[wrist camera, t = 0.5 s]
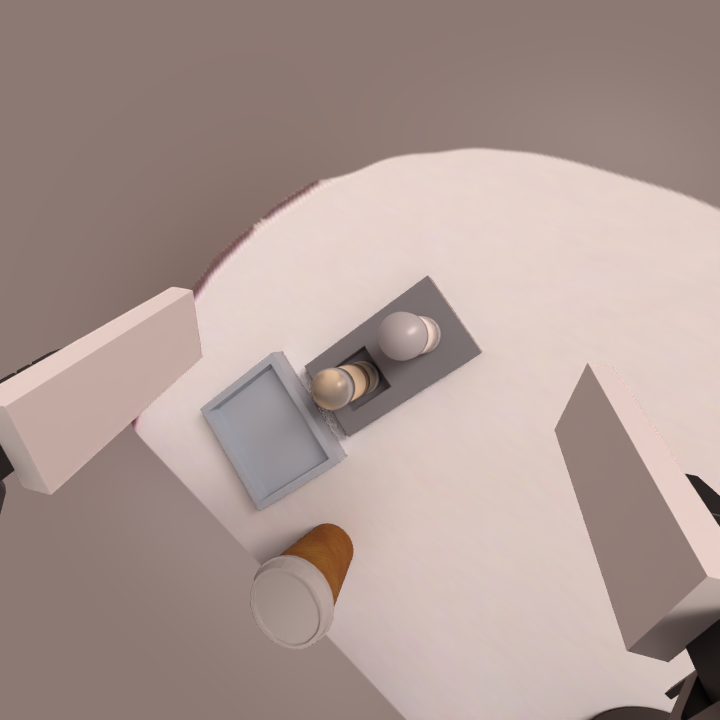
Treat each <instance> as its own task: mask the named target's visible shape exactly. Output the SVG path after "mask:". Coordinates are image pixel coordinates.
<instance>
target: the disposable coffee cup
mask: <svg viewBox="0 0 720 720" xmlns="http://www.w3.org/2000/svg"><path fill="white" fill-rule="evenodd" d="M352 557H353V545H352V542H351V540H350V538H349V536H348V535H347V534H346V532H345V531H344V530H343V529H341V528H340V527H338V526H336V525H333V524H321V525H319V526H317V527H316V528H315V529H314V530H312V531H311V532H310V533H308V534H307V535H306V536H304V537H303V538H302V539H300V540H299V541H298V542H297V543H295V544H294V545H293V546H291V547H290V548H289V549H287V550H286V551H285V552H284V553H282V554H281V555H280V556H278V557H275V558H272V559H270V560H268V561H266V562H265V563H264V564H263V565H262V566H261V567H260V568H259V570H258V572H257V573H256V575H255V578H254V583H253V585H252V589H251V592H250V606H251V609H252V614H253V617H254V619H255V621H256V623H257V625H258V626H259V628H260V629H261V630H262V632H263V633H264V634H265V635H266V636H267V637H269V638H270V639H271V640H272V641H273V642H275V643H276V644H278V645H280V646H282V647H285V648H288V649H303V648H307V647H308V646H310V645H312V644H313V643H314V642H317V641H318V640H320V639H321V638H323V637H324V636H325V634H326V633H327V632H328V630H329V628H330V626H331V624H332V621H333V613H334V606H335V603H336V601H337V597H338V595H339V593H340V589H341V587H342V584H343V582H344V579H345V576H346V573H347V571H348V568H349V565H350V562H351V560H352Z"/></svg>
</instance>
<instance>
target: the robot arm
mask: <svg viewBox="0 0 720 720" xmlns="http://www.w3.org/2000/svg"><path fill="white" fill-rule="evenodd" d="M201 358H202V351H201V344H200V337H199V330H198V324H197V317H196V310H195V304H194V297H193V290H188V289H183V288H177V287H171V288H169V289H167V290H166V291H164V292H162V293H161V294H159V295H157V296H155V297H153V298H152V299H150V300H148V301H146V302H144V303H143V304H141V305H139V306H137V307H136V308H134V309H132V310H130V311H129V312H127V313H125V314H123V315H121V316H120V317H118V318H116V319H114V320H113V321H111V322H109V323H107V324H105V325H104V326H102V327H100V328H98V329H97V330H95V331H93V332H92V333H89V334H88V335H86V336H84V337H82V338H81V339H79V340H77V341H75V342H74V343H72V344H70V345H68V346H67V347H64V348H62V349H58V350H56V351H53V352H50V353H48V354H46V355H44V356H43V357H41V358H39V359H37V360H36V361H34V362H32V364H31V365H27V366H25V367H23V368H21V369H19V370H17V373H12V374H10V375H8V376H7V377H5V378H3V379H1V380H0V513H1V509H2V505H3V501H4V497H5V493H6V488H5V484H4V483H3V481H2V480H3V479H4V478H5V477H6V476H8V475H9V474H10V473H11V472H13V471H15V473H16V475H17V477H18V479H19V480H20V482H21V484H22V486H23V487H24V488H27V489H31V490H35V491H38V492H42V493H46V494H49V495H51V494H52V493H54V491H56V490H57V489H58V488H59V487H60V486H61V485H62V484H63V483H65V482H66V481H67V480H68V479H69V478H70V477H71V476H72V475H73V474H74V473H76V472H77V471H78V470H79V469H80V468H81V467H82V466H83V465H84V464H85V463H87V462H88V461H89V460H90V459H91V458H92V457H93V456H94V455H95V454H96V453H98V452H99V451H100V450H101V449H102V448H103V447H104V446H105V445H106V444H107V443H109V441H111V440H112V439H113V438H114V437H115V436H116V435H117V434H118V433H119V432H121V431H122V430H123V429H124V428H125V427H126V426H127V425H128V424H129V423H131V422H132V421H133V420H134V419H135V418H136V417H137V416H138V415H139V414H140V413H142V412H143V411H144V410H145V409H146V408H147V407H148V406H149V405H150V404H151V403H153V402H154V401H155V400H156V399H157V398H158V397H159V396H160V395H161V394H162V393H164V392H165V391H166V390H167V389H168V388H169V387H170V386H171V385H172V384H173V383H175V382H176V381H177V380H178V379H179V378H180V377H181V376H182V375H183V374H184V373H186V372H187V371H188V370H189V369H190V368H191V367H192V366H193V365H194V364H195V363H197V362H198V361H199V360H200V359H201ZM555 432H556V435H557V439H558V442H559V445H560V448H561V451H562V454H563V457H564V460H565V463H566V466H567V469H568V472H569V475H570V478H571V481H572V484H573V487H574V490H575V494H576V497H577V500H578V503H579V506H580V509H581V512H582V515H583V518H584V521H585V524H586V527H587V530H588V533H589V536H590V539H591V542H592V546H593V549H594V552H595V555H596V558H597V561H598V564H599V567H600V570H601V573H602V576H603V579H604V582H605V585H606V588H607V591H608V594H609V597H610V601H611V604H612V607H613V610H614V613H615V616H616V619H617V622H618V625H619V628H620V631H621V634H622V637H623V640H624V643H625V646H626V649H627V651H629V652H633V653H637V654H640V655H644V656H648V657H651V658H655V659H659V660H662V661H666V662H669V661H671V660H672V659H673V658H674V657H676V656H677V655H678V654H679V653H681V652H682V651H683V650H684V649H687V651H688V653H689V656H690V658H691V660H692V662H693V665H694V667H695V669H696V670H695V671H693V672H692V673H691V674H689V675H688V676H686V677H685V678H684V679H682V680H681V681H679V682H678V683H677V684H675V685H674V686H673V687H671V688H670V689H669V690H668V691H667V692H666V693H665V694H666V695H667V696H668V697H669V698H670V699H673V698H674V697H676V696H677V695H679V696H678V698H677V700H676V703H675V705H674V707H673V710H672V712H671V714H670V713H667V712H664V711H660V710H655V709H650V708H639V707H630V708H621V709H616V710H612V711H609V712H607V713H604V714H602V715H600V716H598V717H597V718H595V719H594V720H720V496H719V495H718V494H717V493H716V492H715V491H714V490H713V489H711V488H710V487H709V486H708V485H707V484H706V483H705V482H704V481H702V480H701V479H700V478H699V477H698V476H694V475H689V474H685V473H684V472H683V471H682V469H681V468H680V466H679V465H678V463H677V461H676V460H675V458H674V457H673V455H672V454H671V452H670V451H669V449H668V448H667V446H666V445H665V443H664V442H663V440H662V439H661V437H660V436H659V434H658V433H657V431H656V430H655V428H654V427H653V425H652V424H651V422H650V421H649V419H648V418H647V416H646V415H645V413H644V412H643V410H642V408H641V407H640V405H639V404H638V402H637V401H636V399H635V398H634V396H633V395H632V393H631V392H630V390H629V389H628V387H627V386H626V384H625V383H624V381H623V380H622V378H621V377H620V375H619V374H618V372H617V371H616V369H615V368H614V367H609V366H603V365H598V364H592V363H587V365H586V367H585V369H584V371H583V373H582V375H581V378H580V380H579V382H578V384H577V386H576V388H575V390H574V392H573V394H572V396H571V398H570V400H569V402H568V404H567V406H566V408H565V410H564V412H563V414H562V416H561V418H560V420H559V422H558V424H557V426H556V428H555Z"/></svg>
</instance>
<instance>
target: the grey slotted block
mask: <svg viewBox="0 0 720 720" xmlns="http://www.w3.org/2000/svg"><path fill="white" fill-rule="evenodd" d="M480 353H482V351H481V349H480V348H479V346H478V345H477V343H476V342H475V341H474V339H473V338H472V336H471V335H470V333H469V332H468V331H467V329H466V328H465V326H464V325H463V323H462V322H461V320H460V319H459V318H458V316H457V315H456V313H455V312H454V310H453V309H452V308H451V306H450V305H449V303H448V302H447V300H446V299H445V297H444V296H443V295H442V293H441V292H440V290H439V289H438V287H437V286H436V285H435V283H434V282H433V280H432V279H431V278H430V277H429V276H426V277H425V278H424V279H422V280H421V281H420V282H418V283H417V284H415V285H414V286H413V287H411V288H410V289H409V290H407V291H406V292H405V293H403V294H402V295H401V296H399V297H398V298H397V299H395V300H394V301H392V302H391V303H390V304H388V305H387V306H386V307H384V308H383V309H382V310H380V311H379V312H378V313H376V314H375V315H373V316H372V317H371V318H369V319H368V320H367V321H365V322H364V323H363V324H361V325H360V326H359V327H357V328H356V329H355V330H353V331H352V332H350V333H349V334H348V335H346V336H345V337H344V338H342V339H341V340H340V341H338V342H337V343H336V344H334V345H333V346H332V347H330V348H329V349H327V350H326V351H325V352H323V353H322V354H321V355H319V356H318V357H317V358H315V359H314V360H313V361H311V362H310V363H309V364H307V365H306V366H304V367H305V368H306V370H307V371H308V373H309V375H310V376H311V378H312V379H313V378H314V377H315V375H316V374H317V373H318V372H320V371H321V370H324V369H328V368H332V367H341V366H343V365H347V364H353V363H355V362H358V361H363V360H367V361H371V362H373V363H374V364H375V365H376V366H377V367H378V368H379V370H380V373H381V381H380V384H379V386H378V387H377V388H376V389H375V390H374V391H372V392H370V393H368V394H365V395H363V396H362V397H360V398H358V399H355V400H353V401H351V402H349V403H348V404H347V405H345V406H343V407H341V408H339V409H337V410H332V411H333V413H334V414H335V416H336V418H337V419H338V421H339V422H340V424H341V426H342V427H343V429H344V430H345V432H346V434H347V435H348V437H349V436H351V435H352V434H354V433H356V432H357V431H359V430H360V429H362V428H364V427H365V426H367V425H368V424H370V423H371V422H373V421H375V420H376V419H378V418H379V417H381V416H382V415H384V414H386V413H387V412H389V411H390V410H392V409H394V408H395V407H397V406H398V405H400V404H401V403H403V402H405V401H406V400H408V399H409V398H411V397H413V396H414V395H416V394H417V393H419V392H420V391H422V390H424V389H425V388H427V387H428V386H430V385H431V384H433V383H435V382H436V381H438V380H439V379H441V378H443V377H444V376H446V375H447V374H449V373H450V372H452V371H454V370H455V369H457V368H458V367H460V366H461V365H463V364H465V363H466V362H468V361H469V360H471V359H473V358H474V357H476V356H477V355H479V354H480Z"/></svg>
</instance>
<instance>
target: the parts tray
mask: <svg viewBox="0 0 720 720" xmlns="http://www.w3.org/2000/svg"><path fill="white" fill-rule="evenodd" d="M200 410H201V411H202V413H203V415H204V417H205V418H206V420H207V422H208V424H209V425H210V427H211V429H212V430H213V432H214V434H215V436H216V437H217V439H218V441H219V443H220V444H221V446H222V448H223V450H224V451H225V453H226V455H227V456H228V458H229V460H230V462H231V463H232V465H233V467H234V469H235V470H236V472H237V474H238V475H239V477H240V479H241V481H242V482H243V484H244V486H245V488H246V489H247V491H248V493H249V495H250V496H251V498H252V500H253V501H254V503H255V505H256V507H257V508H258V510H259V511H261V510H262V509H264V508H266V507H267V506H269V505H270V504H272V503H274V502H275V501H277V500H279V499H280V498H282V497H284V496H285V495H287V494H288V493H290V492H292V491H293V490H295V489H297V488H298V487H300V486H301V485H303V484H305V483H306V482H308V481H310V480H311V479H313V478H315V477H316V476H318V475H319V474H321V473H323V472H324V471H326V470H328V469H329V468H331V467H332V466H334V465H336V464H337V463H339V462H340V461H342V460H343V459H344V458H345V457H346V456H347V455H346V453H345V452H344V450H343V448H342V447H341V445H340V444H339V442H338V440H337V439H336V437H335V436H334V434H333V432H332V431H331V429H330V427H329V426H328V424H327V423H326V421H325V419H324V418H323V416H322V415H321V413H320V411H319V410H318V408H317V407H316V405H315V403H314V402H313V400H312V399H311V397H310V395H309V394H308V392H307V390H306V389H305V387H304V386H303V384H302V382H301V381H300V379H299V378H298V376H297V374H296V373H295V371H294V370H293V368H292V366H291V365H290V363H289V361H288V360H287V358H286V357H285V355H284V353H283V352H274V353H271V354H270V355H269V356H267V357H266V358H265V359H264V360H262V361H261V362H260V363H258V364H257V365H256V366H255V367H253V368H252V369H251V370H249V371H248V372H247V373H246V374H244V375H243V376H242V377H240V378H239V379H238V380H237V381H235V382H234V383H233V384H231V385H230V386H229V387H228V388H226V389H225V390H224V391H223V392H221V393H220V394H219V395H217V396H216V397H215V398H214V399H212V400H211V401H210V402H208V403H207V404H206V405H205V406H203V407H202V408H201V409H200Z"/></svg>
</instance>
